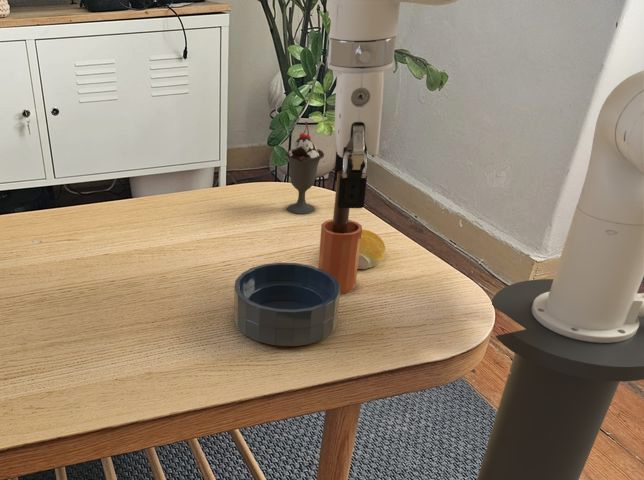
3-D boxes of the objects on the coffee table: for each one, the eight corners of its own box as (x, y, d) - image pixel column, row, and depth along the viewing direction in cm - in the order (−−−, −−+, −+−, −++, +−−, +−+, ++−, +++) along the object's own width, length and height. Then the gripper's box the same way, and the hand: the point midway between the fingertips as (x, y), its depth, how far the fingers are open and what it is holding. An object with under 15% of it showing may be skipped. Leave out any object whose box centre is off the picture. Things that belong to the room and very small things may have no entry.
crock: (353, 276, 95) (360, 219, 90) (356, 294, 90) (363, 235, 85) (316, 275, 96) (320, 218, 91) (316, 293, 91) (321, 234, 86)
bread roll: (386, 248, 102) (389, 225, 100) (379, 273, 95) (382, 248, 93) (333, 242, 105) (336, 219, 103) (323, 266, 98) (325, 241, 96)
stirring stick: (341, 278, 93) (352, 170, 85) (341, 285, 92) (353, 175, 83) (326, 278, 94) (337, 169, 85) (327, 284, 92) (337, 175, 83)
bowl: (333, 299, 89) (337, 264, 86) (338, 352, 79) (342, 314, 76) (238, 296, 91) (238, 261, 88) (230, 347, 81) (230, 309, 78)
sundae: (305, 199, 121) (311, 117, 113) (326, 211, 116) (334, 126, 108) (275, 206, 119) (278, 123, 111) (295, 218, 114) (300, 132, 105)
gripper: (403, 66, 68) (384, 219, 78) (386, 40, 82) (371, 172, 92) (331, 68, 70) (320, 218, 79) (326, 42, 84) (317, 172, 93)
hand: (348, 193), depth 85 cm, fingers open, 9 cm apart
